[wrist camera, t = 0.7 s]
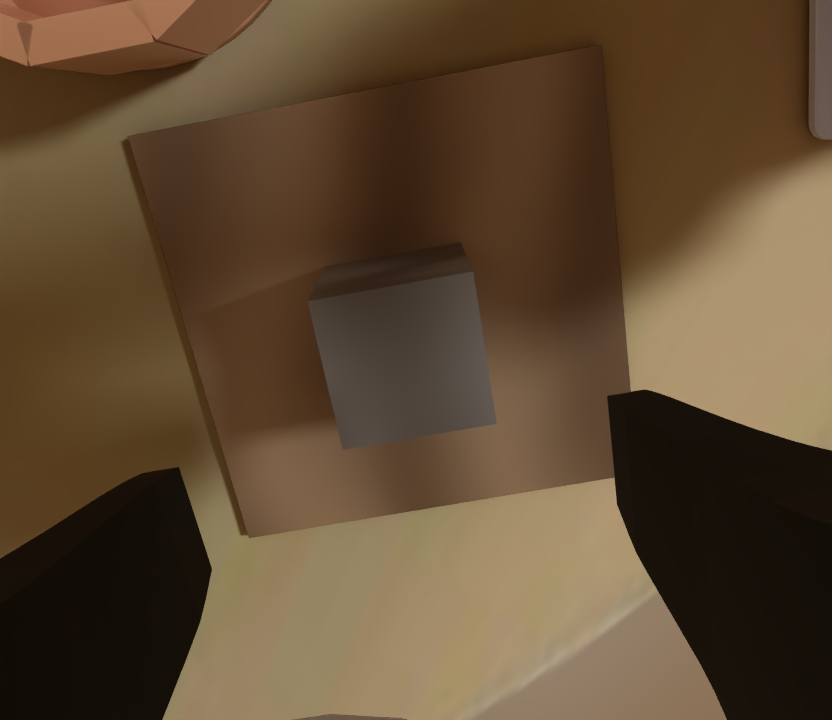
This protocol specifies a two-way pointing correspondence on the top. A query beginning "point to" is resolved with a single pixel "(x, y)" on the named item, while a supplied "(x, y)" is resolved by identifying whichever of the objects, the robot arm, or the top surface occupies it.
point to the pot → (119, 32)
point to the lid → (401, 289)
